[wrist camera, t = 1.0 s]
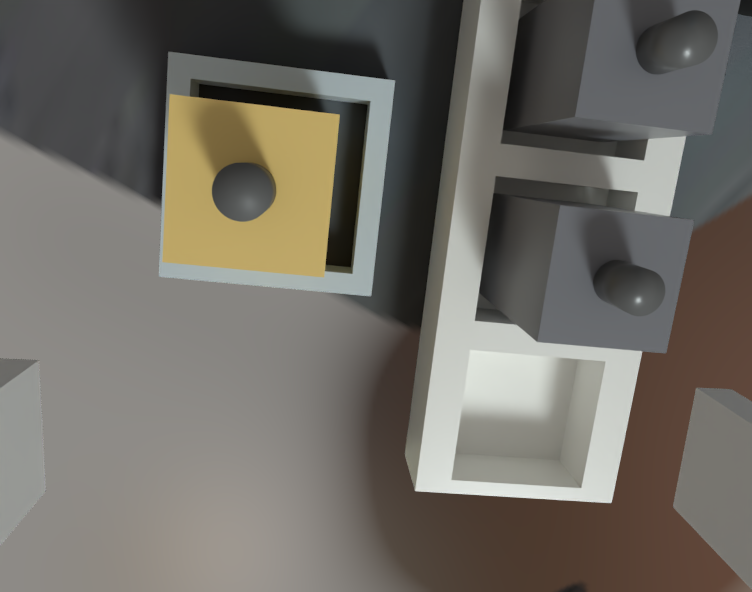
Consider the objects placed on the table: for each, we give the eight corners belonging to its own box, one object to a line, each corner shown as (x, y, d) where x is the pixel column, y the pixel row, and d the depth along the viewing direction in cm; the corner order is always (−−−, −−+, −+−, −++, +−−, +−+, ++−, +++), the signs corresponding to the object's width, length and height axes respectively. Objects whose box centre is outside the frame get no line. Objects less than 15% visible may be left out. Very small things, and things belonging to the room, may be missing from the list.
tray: (178, 58, 29) (168, 51, 27) (390, 85, 30) (395, 80, 28) (168, 269, 31) (158, 276, 29) (368, 288, 32) (371, 296, 30)
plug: (229, 120, 30) (151, 85, 16) (333, 132, 31) (341, 109, 17) (223, 224, 31) (144, 273, 17) (324, 234, 32) (324, 290, 18)
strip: (465, -17, 30) (557, -133, 18) (665, 12, 31) (876, -80, 19) (404, 453, 34) (446, 603, 23) (579, 465, 35) (705, 615, 24)
